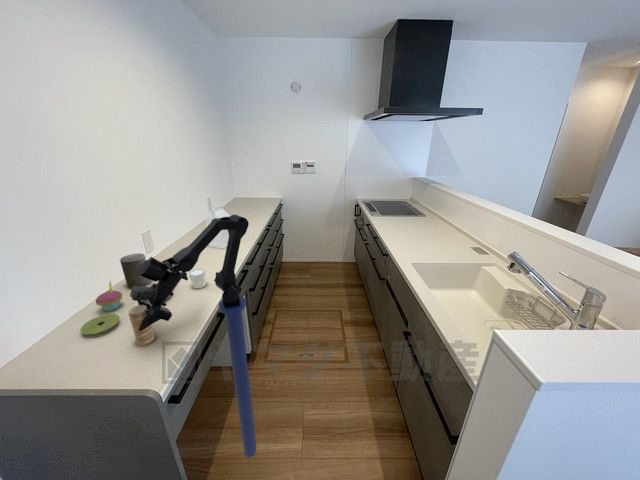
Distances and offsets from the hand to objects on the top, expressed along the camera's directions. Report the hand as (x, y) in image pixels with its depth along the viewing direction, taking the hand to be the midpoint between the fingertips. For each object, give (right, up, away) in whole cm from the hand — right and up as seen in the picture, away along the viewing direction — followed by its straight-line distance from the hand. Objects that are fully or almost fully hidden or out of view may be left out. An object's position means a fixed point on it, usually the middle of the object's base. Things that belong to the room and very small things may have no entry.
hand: (137, 326), depth 88 cm
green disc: (-19, -3, +9) cm, 21 cm away
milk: (-4, +26, +86) cm, 90 cm away
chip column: (+1, -6, +3) cm, 7 cm away
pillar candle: (-26, +8, +38) cm, 47 cm away
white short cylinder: (+4, +8, +37) cm, 38 cm away
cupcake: (-24, +1, +20) cm, 31 cm away
